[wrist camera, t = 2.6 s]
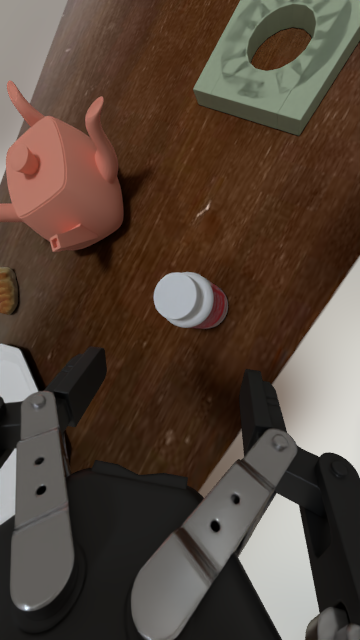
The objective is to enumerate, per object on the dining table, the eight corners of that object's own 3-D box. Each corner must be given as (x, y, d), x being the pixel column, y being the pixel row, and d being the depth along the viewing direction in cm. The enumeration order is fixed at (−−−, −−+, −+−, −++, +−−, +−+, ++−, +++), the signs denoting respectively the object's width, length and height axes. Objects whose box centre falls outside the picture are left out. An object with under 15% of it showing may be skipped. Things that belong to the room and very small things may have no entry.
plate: (-48, 402, 57) (-60, 405, 55) (21, 330, 49) (10, 330, 47) (-7, 529, 49) (-20, 538, 47) (83, 469, 41) (73, 476, 39)
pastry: (25, 305, 49) (5, 303, 45) (6, 320, 51) (-15, 320, 47) (14, 265, 51) (-7, 260, 47) (-5, 282, 53) (-26, 278, 49)
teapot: (80, 146, 45) (0, 73, 32) (159, 168, 38) (96, 86, 25) (45, 239, 47) (-42, 205, 35) (113, 275, 41) (35, 249, 28)
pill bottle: (233, 288, 33) (210, 268, 23) (224, 332, 33) (197, 333, 23) (190, 282, 35) (152, 261, 25) (182, 323, 35) (141, 320, 25)
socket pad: (386, -1, 28) (395, -32, 25) (299, 136, 30) (300, 120, 28) (262, -13, 33) (260, -38, 31) (198, 104, 36) (192, 89, 34)
